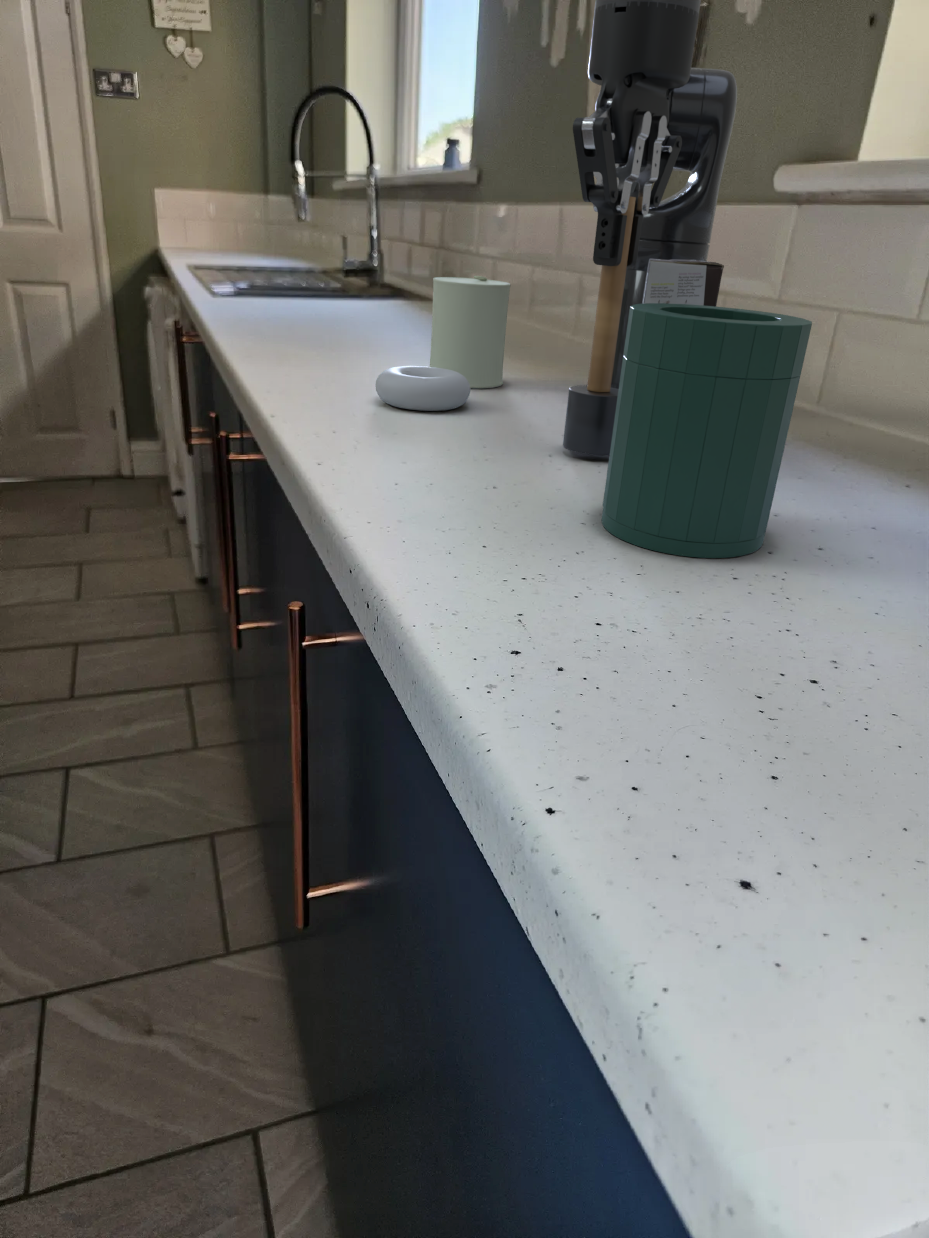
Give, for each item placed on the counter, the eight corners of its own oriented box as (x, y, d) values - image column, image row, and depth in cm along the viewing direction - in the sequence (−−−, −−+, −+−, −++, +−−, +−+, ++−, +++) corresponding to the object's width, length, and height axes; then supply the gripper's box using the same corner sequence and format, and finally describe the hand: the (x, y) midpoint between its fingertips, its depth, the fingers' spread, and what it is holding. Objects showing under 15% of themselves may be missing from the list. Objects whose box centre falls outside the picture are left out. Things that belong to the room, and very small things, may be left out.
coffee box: (692, 453, 80) (725, 264, 73) (621, 445, 81) (648, 258, 74) (688, 432, 88) (718, 260, 81) (624, 425, 89) (649, 255, 82)
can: (512, 381, 109) (521, 278, 104) (488, 392, 101) (496, 281, 96) (444, 372, 112) (450, 271, 107) (415, 382, 104) (420, 274, 99)
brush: (581, 438, 80) (611, 196, 71) (629, 449, 77) (666, 199, 69) (551, 446, 76) (579, 193, 68) (601, 458, 73) (636, 195, 65)
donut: (434, 420, 86) (487, 404, 94) (436, 385, 85) (489, 372, 92) (355, 404, 91) (411, 390, 98) (355, 370, 89) (412, 359, 97)
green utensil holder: (646, 496, 66) (677, 301, 60) (786, 532, 60) (835, 320, 54) (571, 526, 58) (598, 306, 52) (723, 571, 52) (773, 329, 46)
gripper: (645, 30, 70) (615, 262, 77) (551, -10, 60) (527, 261, 67) (733, 25, 66) (693, 269, 73) (649, -19, 56) (612, 269, 63)
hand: (614, 264), depth 70 cm, fingers closed on brush
